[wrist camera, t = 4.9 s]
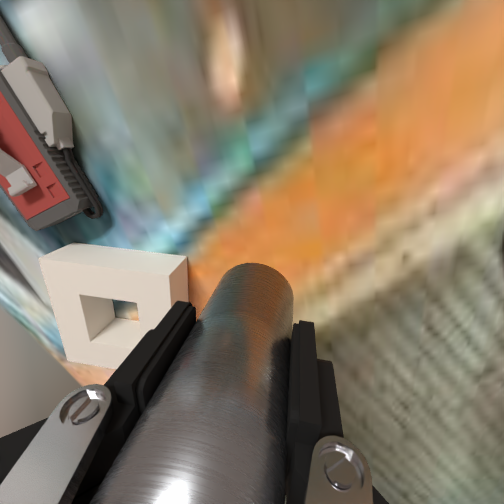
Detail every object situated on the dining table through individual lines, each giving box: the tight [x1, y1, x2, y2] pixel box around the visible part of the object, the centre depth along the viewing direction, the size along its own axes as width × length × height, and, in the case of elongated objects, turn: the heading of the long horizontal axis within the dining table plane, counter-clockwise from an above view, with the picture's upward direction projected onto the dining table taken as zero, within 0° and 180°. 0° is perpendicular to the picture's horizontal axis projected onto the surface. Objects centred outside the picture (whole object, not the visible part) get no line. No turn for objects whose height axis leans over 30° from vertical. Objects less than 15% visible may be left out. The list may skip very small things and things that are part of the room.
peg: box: [90, 263, 293, 504], centre depth 8 cm, size 4×4×12 cm
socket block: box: [38, 242, 189, 370], centre depth 26 cm, size 12×12×4 cm
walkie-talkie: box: [0, 16, 103, 231], centre depth 20 cm, size 9×4×20 cm
